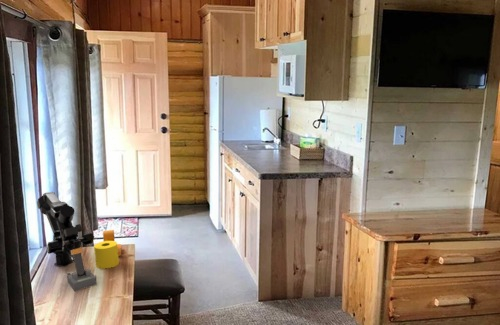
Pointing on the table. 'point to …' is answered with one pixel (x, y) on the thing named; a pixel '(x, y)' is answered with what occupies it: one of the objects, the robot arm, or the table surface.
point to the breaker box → (81, 280)
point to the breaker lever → (78, 261)
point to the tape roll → (106, 254)
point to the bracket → (111, 239)
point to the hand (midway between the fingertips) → (76, 260)
